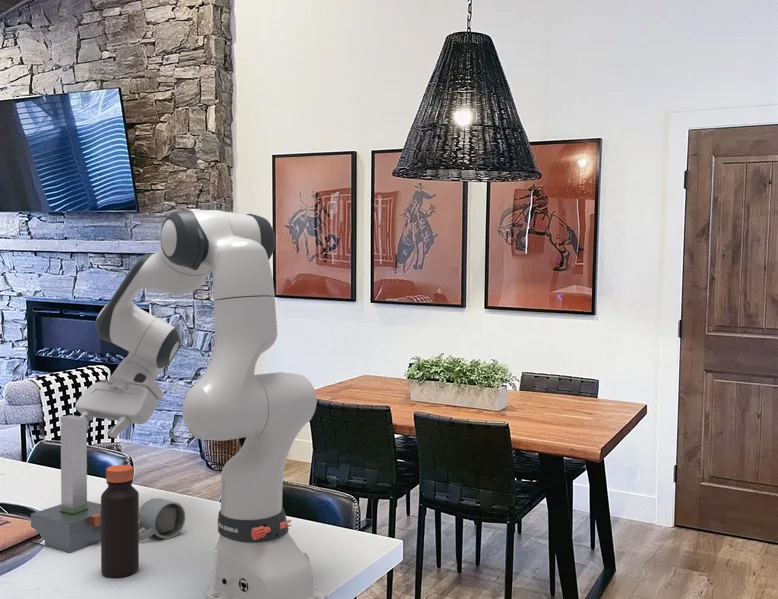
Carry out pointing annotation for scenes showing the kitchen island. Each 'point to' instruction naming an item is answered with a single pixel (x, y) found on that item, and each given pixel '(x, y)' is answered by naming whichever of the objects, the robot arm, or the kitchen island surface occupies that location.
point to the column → (73, 464)
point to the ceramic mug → (161, 518)
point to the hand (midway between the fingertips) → (95, 433)
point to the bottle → (119, 523)
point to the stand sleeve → (68, 527)
